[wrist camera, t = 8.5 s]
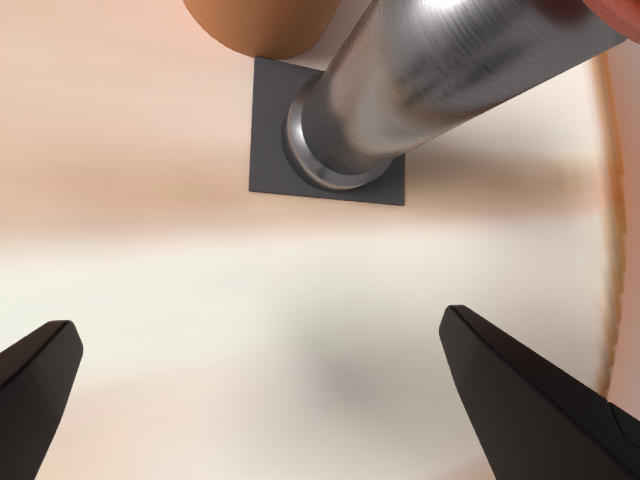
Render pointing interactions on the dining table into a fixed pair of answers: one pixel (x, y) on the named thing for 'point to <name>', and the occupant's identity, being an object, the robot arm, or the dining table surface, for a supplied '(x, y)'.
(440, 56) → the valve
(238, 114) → the dining table surface
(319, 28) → the bracket
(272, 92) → the dark grey rectangular plate
